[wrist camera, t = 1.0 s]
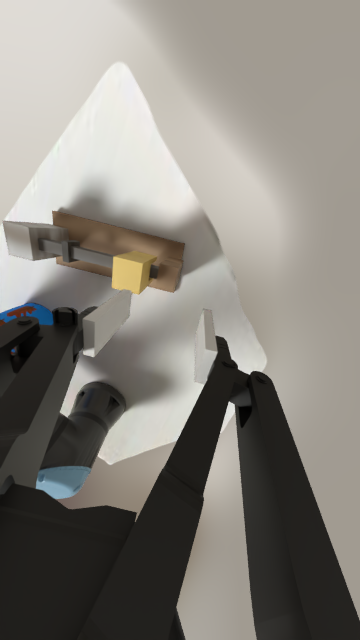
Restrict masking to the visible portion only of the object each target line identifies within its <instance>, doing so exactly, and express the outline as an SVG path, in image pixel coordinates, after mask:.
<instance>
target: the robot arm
mask: <svg viewBox="0 0 360 640" xmlns="http://www.w3.org/2000/svg"><path fill="white" fill-rule="evenodd" d="M131 295H132V291H130V290H126V289H123V290H122V291H120V292H119V293H118V294H116V295H115V296H114V297H112V298H111V299H109V300H108V301H107V302H105V303H104V304H102V305H101V306H100V307H95V306H93V307H90V308H87V309H86V310H84V311H83V312H81V314H78V311H77V310H76V309H74V308H69V307H62V308H57V309H54V310H53V311H52V314H53V324H52V325H40V324H39V319H38V318H36V317H32V316H21V317H17V318H15V319H12V320H10V321H9V322H7V323H5V324H3V325H1V326H0V640H185V636H184V633H183V629H182V626H181V622H180V619H179V616H178V612H177V608H176V606H177V602H178V598H179V595H180V591H181V587H182V583H183V580H184V576H185V571H186V568H187V564H188V561H189V557H190V553H191V549H192V545H193V542H194V538H195V534H196V530H197V527H198V523H199V519H200V515H201V511H202V507H203V501H204V497H203V493H204V489H205V485H206V481H207V478H208V474H209V471H210V467H211V463H212V460H213V456H214V452H215V449H216V445H217V442H218V438H219V434H220V431H221V427H222V424H223V420H224V416H225V413H226V409H227V406H228V402H229V401H230V402H231V403H233V404H235V413H236V425H237V437H238V448H239V460H240V471H241V483H242V495H243V508H244V519H245V532H246V544H247V555H248V567H249V579H250V591H251V600H252V608H253V617H254V626H255V631H256V637H257V640H360V620H359V617H358V615H357V612H356V609H355V607H354V604H353V601H352V598H351V596H350V593H349V590H348V588H347V585H346V582H345V579H344V576H343V574H342V571H341V568H340V566H339V563H338V560H337V557H336V554H335V552H334V549H333V546H332V544H331V541H330V538H329V535H328V533H327V530H326V527H325V524H324V522H323V519H322V516H321V513H320V510H319V508H318V505H317V502H316V500H315V497H314V494H313V491H312V488H311V487H310V483H309V481H308V478H307V475H306V472H305V470H304V467H303V464H302V461H301V458H300V456H299V453H298V450H297V447H296V445H295V442H294V440H293V436H292V434H291V431H290V428H289V426H288V423H287V420H286V417H285V414H284V412H283V409H282V406H281V404H280V401H279V398H278V395H277V392H276V390H275V387H274V385H273V382H272V380H271V379H270V378H269V377H268V376H267V375H265V374H263V373H261V372H258V371H253V372H251V374H250V375H248V374H246V373H244V372H242V371H240V370H239V369H238V365H237V364H236V363H235V362H234V361H233V360H232V359H231V356H230V352H229V348H228V344H227V341H226V340H225V339H224V338H223V337H219V336H215V331H214V325H213V318H212V312H211V310H207V309H203V312H202V315H201V318H200V321H199V325H198V328H197V331H196V343H195V369H194V382H197V383H201V384H205V385H204V387H203V389H202V392H201V394H200V396H199V398H198V400H197V402H196V404H195V406H194V408H193V410H192V412H191V414H190V416H189V418H188V420H187V422H186V424H185V426H184V428H183V430H182V432H181V434H180V436H179V438H178V440H177V442H176V445H175V447H174V448H173V451H172V453H171V455H170V457H169V459H168V461H167V463H166V465H165V466H164V468H163V469H162V471H161V473H160V474H159V476H158V478H157V480H156V482H155V484H154V486H153V488H152V490H151V492H150V494H149V496H148V498H147V500H146V502H145V504H144V506H143V508H142V510H141V512H140V514H139V516H138V518H137V520H136V522H135V519H136V514H137V513H136V512H132V511H128V510H124V509H120V508H115V507H111V506H97V507H89V508H81V509H73V510H72V509H68V508H66V507H64V506H63V505H62V504H61V503H59V502H58V501H57V500H55V499H60V498H67V497H71V496H73V495H75V494H76V493H77V492H78V491H79V490H80V489H81V488H82V486H83V484H84V482H85V480H86V478H87V476H88V474H89V473H90V472H91V468H92V466H93V464H94V462H95V459H96V457H97V455H98V453H99V451H100V448H101V446H102V444H103V442H104V440H105V437H106V435H107V433H108V431H109V430H110V429H111V427H112V426H113V425H114V424H115V423H116V422H117V421H118V419H119V418H120V417H121V416H122V414H123V412H124V409H125V406H126V403H125V399H124V397H123V396H122V394H121V393H120V392H119V391H117V390H116V389H115V388H113V387H111V386H109V385H106V384H103V383H89V384H87V385H85V386H83V387H82V389H81V390H80V391H79V392H78V394H77V396H76V399H75V402H74V405H73V408H72V411H71V413H70V415H69V416H68V418H67V417H66V416H64V415H63V414H61V413H60V410H61V407H62V404H63V401H64V398H65V396H66V393H67V390H68V387H69V384H70V381H71V379H72V376H73V373H74V370H75V367H76V364H77V362H78V359H79V351H80V350H81V349H82V348H83V355H87V356H91V357H95V356H96V355H97V354H98V353H99V351H100V350H101V349H102V348H103V347H104V346H105V344H106V343H107V342H108V341H109V340H110V339H111V337H112V336H113V335H114V334H115V333H116V332H117V330H118V329H119V328H120V327H121V326H122V325H123V323H124V322H125V321H126V320H127V319H128V318H129V313H130V304H131ZM14 348H15V351H16V352H14V353H13V354H11V351H12V350H13V349H14Z"/></svg>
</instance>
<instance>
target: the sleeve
mask: <svg viewBox="0 0 360 640" xmlns="http://www.w3.org/2000/svg"><path fill="white" fill-rule="evenodd" d="M156 260H157V256H154V255H150V254H146V253H142V252H138V251H133V252H129V253H125V254H121V255H117V256H113V274H112V288H114V289H118V290H123V289H126V290H130V291H132V293H134V294H138V295H139V294H140V293H141V292H142V291H143V290H144V289H145V288H146V287H147V286H148V285H149V284H150V283H151V282H152V281H153V279H154V278H150V277H149V275H150V268H151V264H152V263H154V262H155V261H156Z"/></svg>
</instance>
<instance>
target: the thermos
mask: <svg viewBox="0 0 360 640" xmlns="http://www.w3.org/2000/svg"><path fill="white" fill-rule="evenodd" d="M21 316H32V317H36V318H38V319H39V324H40V325H52V324H53V314H52V313H51V312H50V311H49V310H48V309H46V308H45V307H43V306H41V305H38V304H35V303H27V304H24V305H21V306H18V307H15V308H12V309H10V310H7V311H5V312H2V313H0V326H1V325H3V324H5V323H7V322H9V321H10V320H12V319H15V318H17V317H21ZM14 352H16V351H15V348H14V349H13V350H12V351H11V354H13V353H14Z"/></svg>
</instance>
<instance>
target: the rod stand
mask: <svg viewBox="0 0 360 640" xmlns="http://www.w3.org/2000/svg"><path fill="white" fill-rule="evenodd" d="M52 214H53V225H51V224H42V223H28V222H13V221H3V227H4V232H5V237H6V242H7V247H8V253H9V255H11V256H15V257H19V258H23V259H28V260H32V261H35V260H41V259H48V258H54V257H56V263H57V264H60V265H64V266H68V267H72V268H76V269H80V270H84V271H88V272H92V273H96V274H100V275H104V276H108V277H112V274H113V256H117V255H121V254H125V253H129V252H133V251H138V252H142V253H146V254H150V255H154V256H157V260H156V261H155V262H154V263H152V264H151V268H150V275H149V277H150V278H154V279H153V281H152V282H151V283H150V284H149V285H148V287H152V288H156V289H160V290H164V291H168V292H172V293H174V291H175V288H176V286H177V283H178V281H179V278H180V273H181V269H182V264H183V260H181V259H182V255H183V250H184V245H185V244H184V243H180V242H176V241H172V240H168V239H164V238H160V237H156V236H152V235H148V234H144V233H140V232H136V231H132V230H128V229H124V228H120V227H116V226H112V225H108V224H104V223H100V222H96V221H92V220H89V219H85V218H81V217H77V216H73V215H69V214H65V213H61V212H57V211H52Z"/></svg>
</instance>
